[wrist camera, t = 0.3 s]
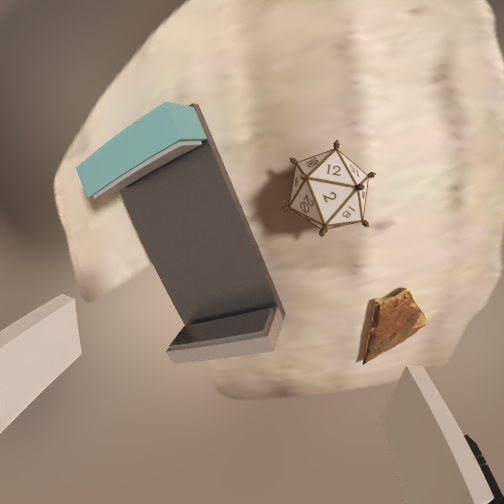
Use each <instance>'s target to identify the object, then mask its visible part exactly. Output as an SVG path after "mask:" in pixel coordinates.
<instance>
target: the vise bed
mask: <svg viewBox="0 0 504 504" xmlns="http://www.w3.org/2000/svg"><path fill="white" fill-rule="evenodd" d="M189 106H190V107H194V109H195V111H196V113H197V116H198V118H199V120H200V123H201V125H202V128H203V130H204V132H205V135H206V137H207V139H205V140H203V141H201V143H202V145H200V146H198V147H196V148H194V149H192V150H190V151H188V152H186V153H184V154H182V155H180V156H179V157H177V158H175V159H173V160H171V161H169V162H167V163H166V164H164V165H162V166H160V167H158V168H157V169H155V170H153V171H151V172H150V173H148V174H146V175H144V176H143V177H141V178H139V179H138V180H136V181H134V182H133V183H131V184H129V185H128V186H126V187H124V188H123V189H121V190H120V191H121V194H122V196H123V199H124V201H125V203H126V206H127V208H128V211H129V213H130V215H131V217H132V220H133V222H134V224H135V226H136V229H137V231H138V233H139V235H140V237H141V240H142V242H143V244H144V246H145V248H146V250H147V252H148V255H149V257H150V259H151V261H152V263H153V265H154V267H155V269H156V271H157V273H158V275H159V277H160V279H161V281H162V283H163V285H164V287H165V289H166V290H167V293H168V294H169V296H170V298H171V300H172V302H173V304H174V306H175V308H176V309H177V311H178V313H179V315H180V317H181V319H182V320H183V322H184V324H185V326H184V327H183V329H182V330H181V331H180V332H179V334H178V335H177V336H176V338H175V339H174V340H173V342H172V343H171V344H170V345H169V348H168V350H167V351H166V352H167V354H168V355H169V357H170V359H171V360H172V362H173V363H183V362H194V361H204V360H212V359H221V358H228V357H236V356H243V355H250V354H256V353H263V352H269V351H274V350H275V347H276V344H277V340H278V337H279V334H280V330H281V327H282V324H283V320H284V317H285V311H284V309H283V306H282V304H281V301H280V299H279V297H278V294H277V292H276V289H275V287H274V284H273V282H272V280H271V277H270V275H269V272H268V270H267V267H266V265H265V263H264V260H263V258H262V255H261V253H260V250H259V248H258V246H257V243H256V241H255V238H254V236H253V234H252V231H251V229H250V226H249V224H248V222H247V219H246V217H245V214H244V212H243V210H242V207H241V205H240V202H239V200H238V198H237V195H236V193H235V190H234V188H233V186H232V183H231V181H230V178H229V176H228V174H227V171H226V169H225V167H224V164H223V162H222V159H221V157H220V155H219V152H218V150H217V148H216V145H215V143H214V141H213V138H212V136H211V133H210V131H209V129H208V126H207V124H206V122H205V119H204V117H203V115H202V112H201V110H200V108H199V105H197V104H191V105H189Z"/></svg>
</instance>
